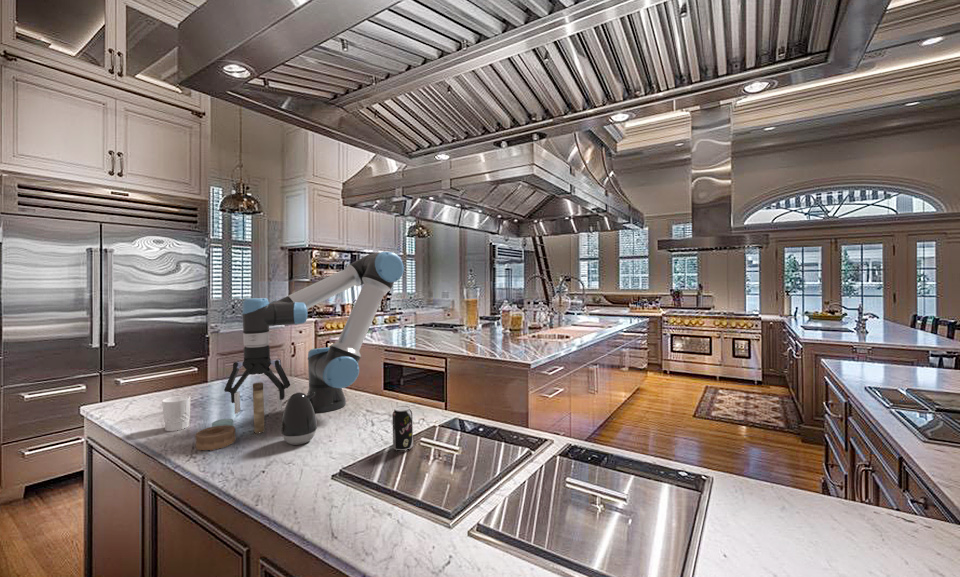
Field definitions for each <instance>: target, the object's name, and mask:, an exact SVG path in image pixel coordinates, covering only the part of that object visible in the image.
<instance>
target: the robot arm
mask: <svg viewBox="0 0 960 577" xmlns="http://www.w3.org/2000/svg"><path fill="white" fill-rule="evenodd" d="M404 269H405V268H404V262H403V261H402V258H401V257H400V256H399V255H398V254H396V253H395V252H393V251H381V252H371V253H369V254H366V255H364V256H362V257H360V258H359V259H357V260H355V261H353V262H351V263H348V264H347V265H346V268H345V269H343V270H340V271H338V272H336V273H334V274H331V275H330V276H328V277H326V278H325V277H324V278H323V279H321V280H319V281H316V282H315V283H313V284H310V285H308V286H307V287H304V288H302V289H299V290H297V291H295V292H293V293H291V294H289V295H287V296H285V297H283V298H279V299H278V300H273V301H271V302H269V299H268V298H266V297H255V298H253V297H252V298H245V299H243V301H242V312H241V315H242V329H243V330H242V331H243V333H242V334H243V335H242V336H243V337H242V339H243V346H244V347H243V361H239V360H237V361H235V362H233V363H232V370H231V373H230V376H229V377H228V380H227V382H226V385H225V386H224V389H223V392H225V393H230V402H231V404H234V414H235V415H237V414H238V413H240V412H241V393H240V392H241V391H240V390H239V388H240V387H241V386H242V385H243V383H244V382H245V381H246V379H247V378H248V377H249V375H263V374H264V375H265V376H266V377H267V378H268V379H269V380H270V381H271V383H273V385H274V386H276V388H277V390H276V410H277V411H278V412H279V411H281V410H282V408H283V407H282V406H283V405H282V400H284V399H285V394H286V393H285V390H286V389H288V388H289V387H290V386H291V383H290V381H289V378H288V377H287V374H286V373H285V370H284V368H283V367H282V362H281V359H280V358H278V359H271V353H270V352H271V349H270V348H271V347H270V345H269V344H270V343H271V342H270V327H275V326H277V327H278V326H292V325H295V326H297V325H300V324H305V323H306V322H307V320H308V310H309V309H310V308H311V307H312V308H313V307H314V306H315V305H318V304H320V303H322V302H324V301H326V300H328V299H331V298H332V297H335V296H336V295H339V294H340V293H342V292H345V291H346V290H349V289H350V288H352V287H354V286H356V287H360V286H362V287H361V289H360V291H359V294H358V296H357V298H356V301H355V302H354V304H353V307H352V308H351V311H350V314H349V316H348V318H347V320H346V322H345V325H344V326H343V329H342V331H341V332H340V334H339V337H338V339H337V341H336V342H335V343H332V344H331V345H330V346H329V347H319V348H312V349H309V351H308V352H307V354H308V355H307V365H308V367H307V368H308V390H307V394H306V396H307V395H309V394H310V393H312V392H315V395H314V396H313V397H311V398H310V399H309V400H310V402H311V404H312V406H313V409H314V412H315V413H321V412H322V413H323V412H331V411H336V410H339V409H341V408H343V407H345V406H346V402H347V401H346V396H345V393H344V390H343V389H344V388H348V387H349V386H351V385H352V384H354V383H355V382H356V381H357V379H358V377H359V374H360V366H359V362H360V359H361V357H362V355H361V352H360V350H361V347H362V345H363V343H364V340H365V338H366V336H367V334H368V331H369V329H370V327H371V325H372V323H373V320H374V318H375V315H376V314H377V312H378V310H379V307H380V306H381V305H380V304H381V302H382V300H383V299H384V296H385V294H386V293H388V292H390V291H391V290H392V288H393V286H394V283H395V282H398V281H399V280H400V279H401V278H402V277H403V275H404V271H405V270H404ZM271 365H272V366H273V367H274V368H275V370H276V372H277V374H278V376H279V378H280V379H279V378H278V376H276V374H275V373H273V371H272V369H271V368H270V366H271ZM242 366H243V368H244V369H245V371H244V372H243V374H242V375H241V376H240V378H239V379H238V381H236V378H237V375H238V374H239V371H240V369H241V368H242ZM235 381H236V383H235ZM234 383H235V384H234ZM233 384H234V386H233ZM238 390H239V391H238Z"/></svg>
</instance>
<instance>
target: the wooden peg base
mask: <svg viewBox="0 0 960 577" xmlns="http://www.w3.org/2000/svg"><path fill="white" fill-rule="evenodd" d="M194 436H195V448H196V450H197V451H201V450H210V451H215V450H214V449H217V450H220V449H219V448H221V449H224V448H223V447H225V448H227V447H229V446H231V445H230V444H232V443H233V442H234V441H235V442H236V428H235V426H234V425H233V426H229V425H222V426H214V427H212V426H211V427H207V428H203V429H201V430H199V431H197V432H196V433H195V434H194ZM235 442H234V443H235ZM234 443H233V444H234ZM233 444H232V445H233ZM228 445H229V446H228ZM226 446H227V447H226Z"/></svg>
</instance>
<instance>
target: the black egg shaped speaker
mask: <svg viewBox="0 0 960 577" xmlns="http://www.w3.org/2000/svg"><path fill="white" fill-rule="evenodd" d="M314 395H315V392H312V393H310V394H309V395H307V394H305V393H304V392H299V391H298V392H295V393H293V394H292V395H291V396H290V397H289V399H288V400H287V402H286V405H285V408H284V410H283V414H282V419H281V426H280V433H281V435H282V437H283V439H284V441H285V442H286V443H287V444H290V445H294V446H298V445H305V444H306V443H309V442H310V441H311V440H312V439H313V438H314V436H315V434H316V430H317V429H318V423H317V416H316V412H314V409H313V406H312V404H311V402H310V400H309V399H310V398H311V397H313V396H314Z"/></svg>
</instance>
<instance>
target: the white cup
mask: <svg viewBox="0 0 960 577" xmlns="http://www.w3.org/2000/svg"><path fill="white" fill-rule="evenodd" d="M161 406H162V415H163V423H164V430H165V431H166V432H176V431H177V430H178V431H181V429H182V430H185V429H187V428H189V427H190V419H191V396H190V395H176V396H172V397H167V398H164V399H162V400H161ZM188 426H189V427H188ZM184 428H185V429H184Z"/></svg>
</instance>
